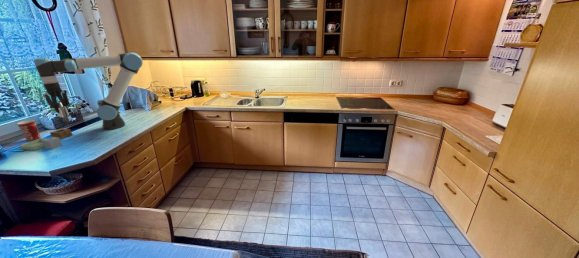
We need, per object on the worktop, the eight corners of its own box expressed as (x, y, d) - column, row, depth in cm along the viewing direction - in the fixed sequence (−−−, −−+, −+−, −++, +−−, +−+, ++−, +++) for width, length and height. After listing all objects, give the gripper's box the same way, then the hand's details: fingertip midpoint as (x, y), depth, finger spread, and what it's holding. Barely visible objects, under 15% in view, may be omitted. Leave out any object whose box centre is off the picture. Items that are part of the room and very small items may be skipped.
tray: (42, 142, 169) (40, 138, 168) (55, 143, 167) (53, 139, 166) (21, 149, 158) (19, 145, 157) (35, 151, 156) (33, 146, 155)
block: (55, 145, 164) (52, 137, 162) (62, 145, 163) (59, 137, 161) (45, 148, 159) (41, 140, 157) (52, 149, 158) (49, 141, 156)
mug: (22, 140, 172) (13, 123, 167) (37, 136, 180) (30, 119, 175) (32, 143, 168) (24, 125, 163) (48, 138, 176) (40, 120, 171)
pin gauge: (67, 120, 170) (59, 101, 165) (70, 120, 169) (62, 101, 164) (62, 122, 167) (54, 102, 162) (66, 122, 167) (58, 103, 161)
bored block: (64, 134, 182) (61, 128, 180) (72, 135, 180) (70, 129, 178) (52, 138, 174) (49, 132, 173) (61, 139, 173) (58, 133, 171)
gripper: (59, 80, 166) (72, 112, 175) (32, 85, 151) (47, 119, 160) (67, 80, 164) (80, 112, 173) (41, 85, 150) (56, 120, 159)
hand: (64, 116), depth 167 cm, fingers closed on pin gauge, 3 cm apart
